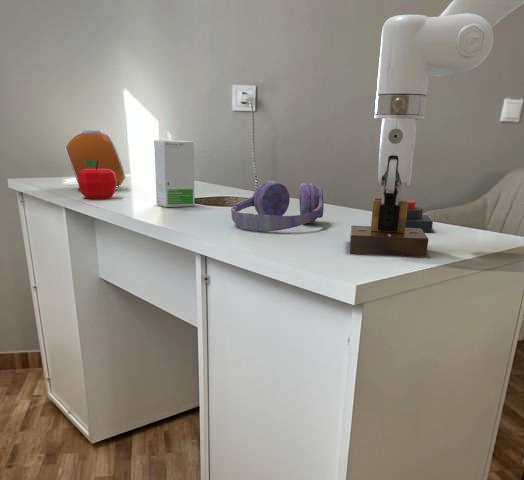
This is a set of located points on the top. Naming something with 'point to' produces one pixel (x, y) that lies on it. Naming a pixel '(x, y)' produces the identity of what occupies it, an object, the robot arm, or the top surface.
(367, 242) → the plate
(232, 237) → the top surface
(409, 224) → the block
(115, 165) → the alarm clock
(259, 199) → the headphones
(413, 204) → the bell button
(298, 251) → the top surface
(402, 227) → the lock knob
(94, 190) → the apple
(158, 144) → the cosmetic box
